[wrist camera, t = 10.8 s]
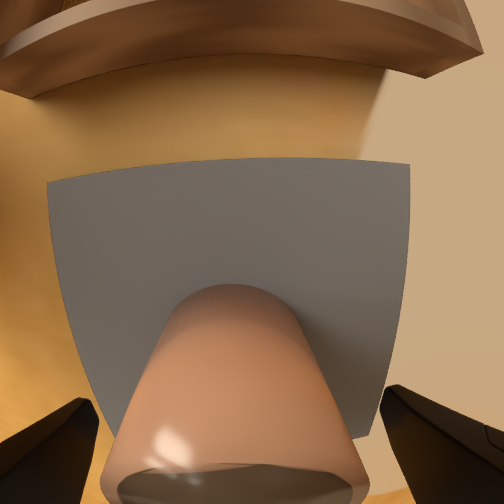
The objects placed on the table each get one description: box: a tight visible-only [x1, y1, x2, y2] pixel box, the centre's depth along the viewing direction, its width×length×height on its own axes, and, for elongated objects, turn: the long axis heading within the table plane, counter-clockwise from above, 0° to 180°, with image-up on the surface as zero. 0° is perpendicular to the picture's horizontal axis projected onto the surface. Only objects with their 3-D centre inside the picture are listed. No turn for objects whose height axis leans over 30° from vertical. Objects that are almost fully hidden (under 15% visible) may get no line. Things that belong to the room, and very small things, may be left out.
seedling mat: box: [47, 158, 410, 439], centre depth 11 cm, size 14×14×1 cm
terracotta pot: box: [100, 284, 370, 504], centre depth 6 cm, size 6×6×9 cm
